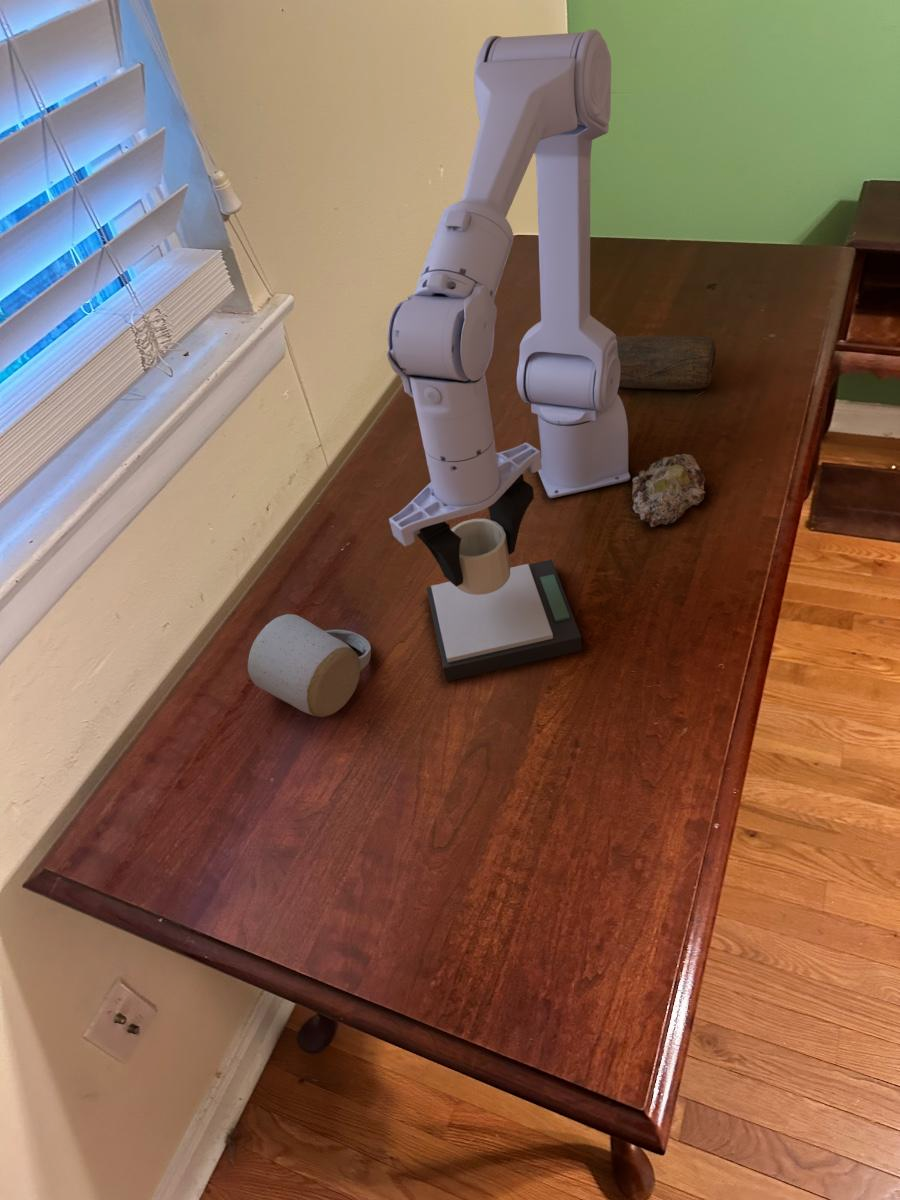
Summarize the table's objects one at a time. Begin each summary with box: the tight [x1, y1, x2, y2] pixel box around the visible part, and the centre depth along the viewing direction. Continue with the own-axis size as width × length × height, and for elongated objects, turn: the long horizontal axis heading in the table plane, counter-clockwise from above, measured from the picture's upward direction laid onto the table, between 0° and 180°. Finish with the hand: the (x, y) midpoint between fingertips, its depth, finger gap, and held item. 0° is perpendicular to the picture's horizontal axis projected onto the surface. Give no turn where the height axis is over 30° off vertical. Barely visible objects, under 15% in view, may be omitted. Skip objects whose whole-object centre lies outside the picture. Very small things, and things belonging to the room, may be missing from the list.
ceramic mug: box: [247, 613, 372, 718], centre depth 79 cm, size 11×8×8 cm
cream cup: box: [450, 518, 511, 595], centre depth 77 cm, size 5×5×4 cm
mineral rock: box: [631, 453, 707, 528], centre depth 92 cm, size 11×4×8 cm
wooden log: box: [616, 335, 717, 391], centre depth 106 cm, size 15×7×7 cm, turn 75°
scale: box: [426, 559, 583, 682], centre depth 83 cm, size 13×11×3 cm
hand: (480, 563), depth 78 cm, fingers closed on cream cup, 5 cm apart
